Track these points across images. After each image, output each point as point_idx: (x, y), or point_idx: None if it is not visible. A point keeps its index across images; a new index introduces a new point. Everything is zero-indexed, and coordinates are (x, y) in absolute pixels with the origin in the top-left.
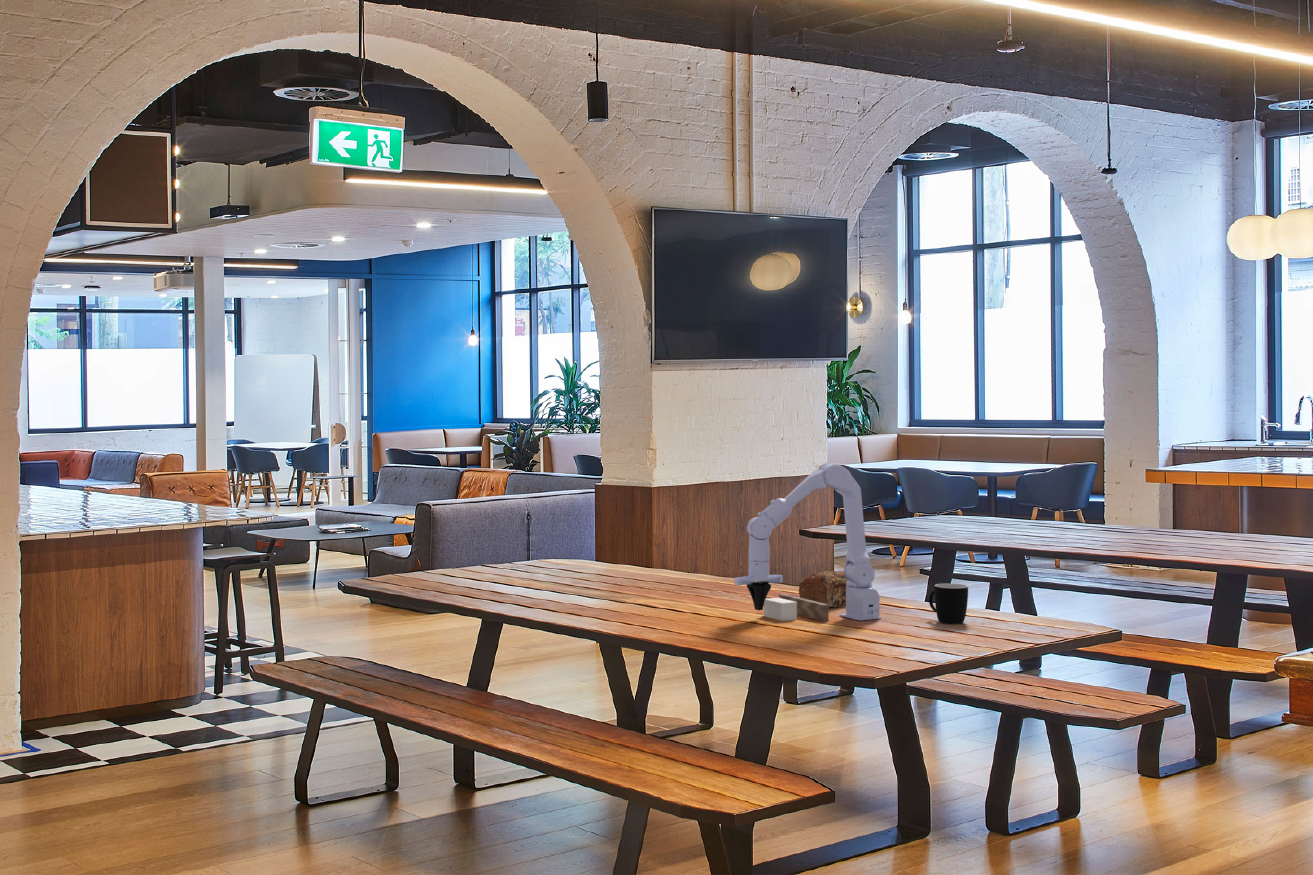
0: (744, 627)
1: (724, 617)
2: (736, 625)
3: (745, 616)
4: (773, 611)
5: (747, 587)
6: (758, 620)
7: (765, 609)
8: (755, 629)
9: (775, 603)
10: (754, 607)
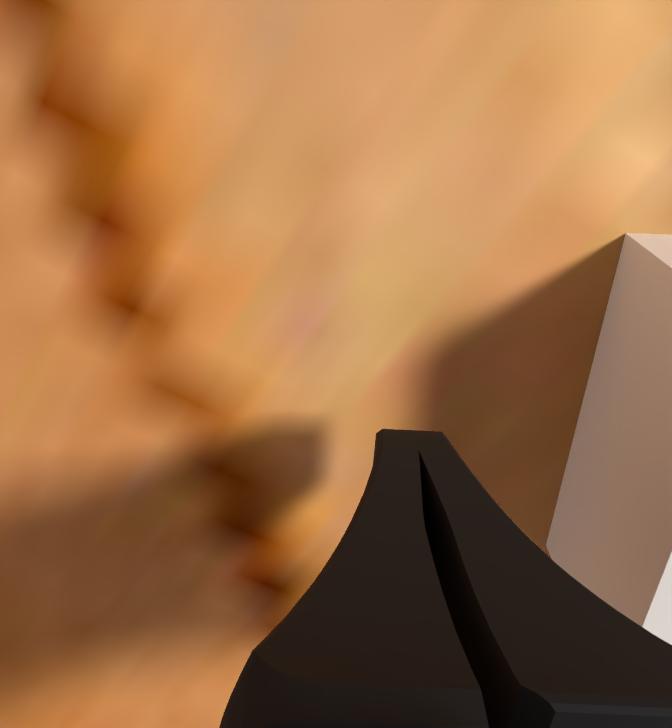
0: (51, 622)
1: (83, 46)
2: (18, 535)
3: (402, 133)
4: (604, 475)
5: (255, 658)
6: (362, 435)
7: (656, 306)
8: (100, 701)
9: (637, 590)
10: (377, 441)
